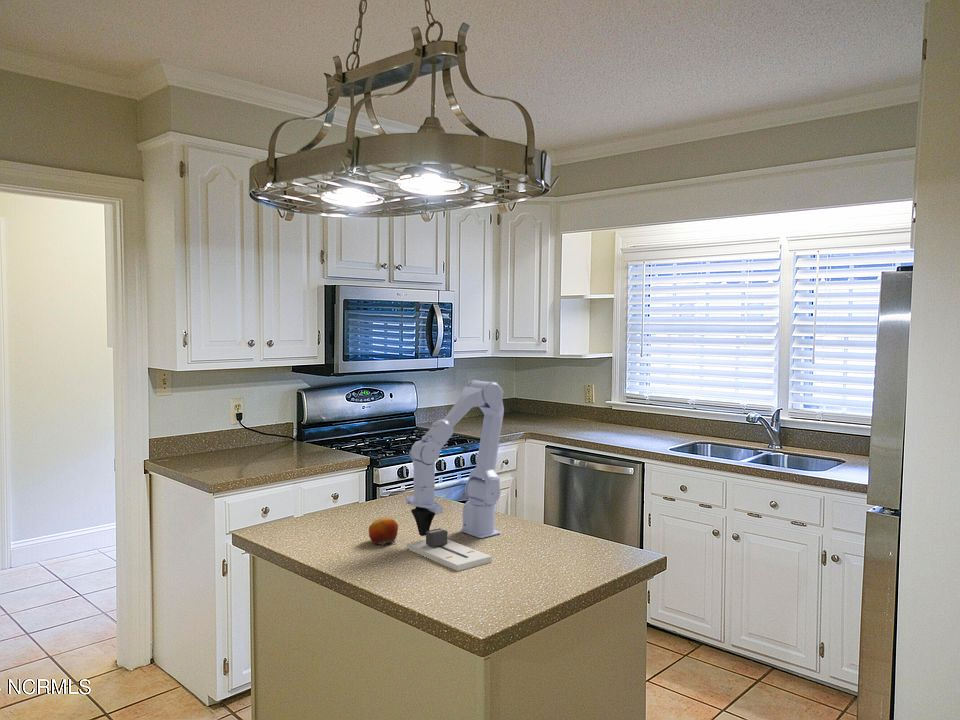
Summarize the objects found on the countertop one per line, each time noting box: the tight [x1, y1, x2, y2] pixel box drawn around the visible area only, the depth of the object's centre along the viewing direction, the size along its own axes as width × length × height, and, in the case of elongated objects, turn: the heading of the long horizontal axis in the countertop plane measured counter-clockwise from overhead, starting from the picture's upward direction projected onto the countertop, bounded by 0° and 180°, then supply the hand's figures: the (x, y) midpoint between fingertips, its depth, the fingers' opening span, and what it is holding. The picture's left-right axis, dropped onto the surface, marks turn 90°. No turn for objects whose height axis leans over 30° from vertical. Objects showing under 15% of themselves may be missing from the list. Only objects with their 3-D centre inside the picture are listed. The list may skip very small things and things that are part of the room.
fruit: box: [368, 517, 399, 546], centre depth 201 cm, size 8×8×8 cm
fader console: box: [406, 538, 493, 572], centre depth 190 cm, size 22×11×2 cm, turn 40°
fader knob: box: [425, 527, 448, 547], centre depth 194 cm, size 4×4×4 cm
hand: (423, 535), depth 199 cm, fingers closed
